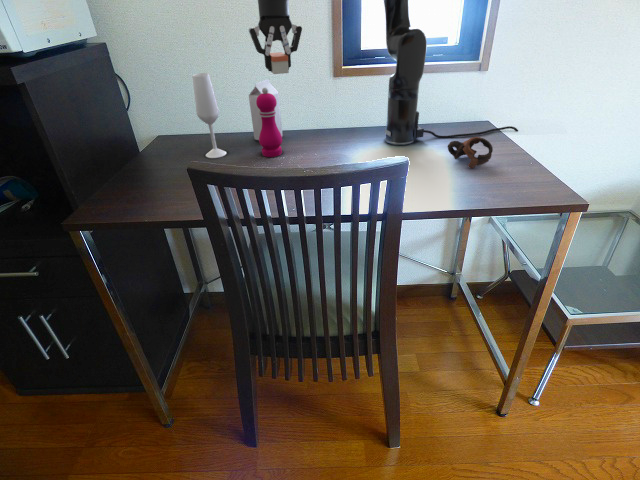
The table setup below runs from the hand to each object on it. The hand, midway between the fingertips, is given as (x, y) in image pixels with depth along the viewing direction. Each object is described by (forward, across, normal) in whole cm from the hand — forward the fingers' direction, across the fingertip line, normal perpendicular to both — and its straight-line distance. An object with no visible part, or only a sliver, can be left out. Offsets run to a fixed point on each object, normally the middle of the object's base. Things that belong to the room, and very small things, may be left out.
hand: (278, 69), depth 103 cm
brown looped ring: (+25, +49, -22) cm, 59 cm away
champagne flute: (+26, -20, +15) cm, 36 cm away
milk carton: (+26, -1, +23) cm, 35 cm away
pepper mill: (+26, -2, +8) cm, 27 cm away
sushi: (0, 0, 0) cm, 0 cm away
